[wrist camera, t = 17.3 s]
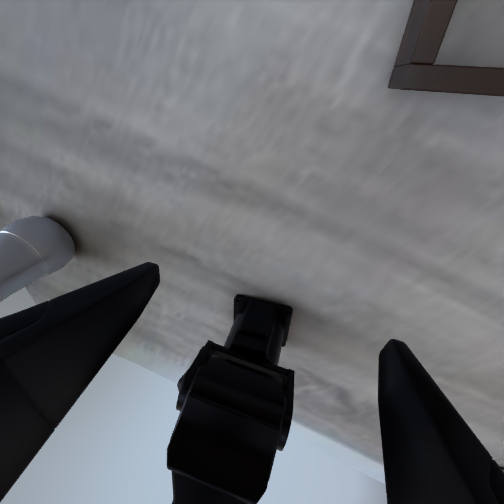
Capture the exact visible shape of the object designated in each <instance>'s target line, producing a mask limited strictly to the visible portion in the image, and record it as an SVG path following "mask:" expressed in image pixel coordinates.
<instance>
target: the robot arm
mask: <svg viewBox="0 0 504 504" xmlns="http://www.w3.org/2000/svg"><path fill="white" fill-rule="evenodd" d="M159 283H160V273H159V266H158V265H157V264H154V263H151V262H146V263H144V264H141V265H138V266H136V267H133V268H131V269H128V270H126V271H123V272H120V273H118V274H115V275H113V276H110V277H108V278H105V279H103V280H100V281H97V282H95V283H92V284H90V285H87V286H85V287H82V288H80V289H77V290H74V291H72V292H69V293H67V294H64V295H62V296H59V297H56V298H54V299H51V300H50V301H46V302H43V303H41V304H38V305H36V306H33V307H31V308H28V309H25V310H22V311H20V312H17V313H14V314H11V315H8V316H5V317H2V318H0V502H1V500H2V499H3V498H4V496H5V495H6V494H7V493H8V491H9V490H10V489H11V487H12V486H13V485H14V483H15V482H16V481H17V479H18V478H19V477H20V475H21V474H22V473H23V471H24V470H25V469H26V467H27V466H28V465H29V463H30V462H31V461H32V459H33V458H34V457H35V455H36V454H37V453H38V451H39V450H40V449H41V447H42V446H43V445H44V443H45V442H46V441H47V440H48V438H49V437H50V436H51V434H52V433H53V432H54V430H55V429H54V428H56V427H57V426H58V425H59V423H60V422H61V421H62V419H63V418H64V417H65V415H66V414H67V412H68V411H69V410H70V409H71V407H72V406H73V405H74V403H75V402H76V401H77V399H78V398H79V397H80V395H81V394H82V393H83V391H84V390H85V389H86V387H87V386H88V385H89V383H90V382H91V381H92V380H93V378H94V377H95V375H96V374H97V373H98V371H99V370H100V369H101V368H102V366H103V365H104V364H105V362H106V361H107V359H108V358H109V357H110V356H111V354H112V353H113V352H114V350H115V349H116V348H117V346H118V345H119V344H120V342H121V341H122V340H123V338H124V337H125V336H126V334H127V333H128V332H129V330H130V329H131V328H132V326H133V325H134V324H135V322H136V321H137V320H138V318H139V317H140V315H141V314H142V312H143V310H144V309H145V307H146V305H147V304H148V302H149V300H150V299H151V297H152V295H153V294H154V292H155V290H156V289H157V287H158V285H159ZM239 299H240V300H239ZM292 311H293V309H292V308H291V307H289V306H285V305H281V304H277V303H272V302H268V301H264V300H260V299H255V298H251V297H247V296H243V295H236V296H235V298H234V323H233V326H232V328H231V330H230V333H229V335H228V338H227V340H226V342H225V345H224V346H221V345H218V344H215V343H214V342H213V341H210V340H208V342H207V343H206V345H205V346H203V347H202V349H200V351H199V353H198V355H197V357H196V358H195V360H194V362H193V363H192V365H191V366H190V368H189V369H188V370H187V371H186V373H185V374H184V375H183V376H182V377H181V378H180V380H179V382H178V385H177V386H178V390H179V395H178V401H177V406H176V409H177V410H179V411H181V412H180V415H179V417H178V420H177V423H176V425H175V428H174V431H173V433H172V436H171V439H170V443H169V445H168V448H167V468H168V469H169V470H172V482H173V502H172V504H257V502H258V501H259V500H260V498H261V497H262V495H263V494H264V492H265V491H266V489H267V484H268V481H269V478H270V474H271V470H272V466H273V461H274V457H275V454H276V450H280V451H282V450H283V448H284V446H285V444H286V441H287V438H288V434H289V430H290V425H291V420H292V413H293V397H294V370H291V369H285V368H282V367H280V366H278V362H279V357H280V352H281V347H284V346H285V345H286V340H287V335H288V330H289V326H290V321H291V316H292ZM378 406H379V417H380V428H381V439H382V450H383V461H384V472H385V483H386V493H387V504H504V472H503V471H502V469H501V468H500V467H499V465H498V464H497V463H496V462H495V461H494V460H492V456H491V455H490V454H489V452H488V451H487V450H486V449H485V447H484V446H483V445H482V443H481V442H480V441H479V439H478V438H477V437H476V435H475V434H474V433H473V431H472V430H471V429H470V428H469V426H468V425H467V424H466V422H465V421H464V420H463V418H462V417H461V416H460V414H459V413H458V412H457V410H456V409H455V408H454V407H453V405H452V404H451V403H450V401H449V400H448V399H447V397H446V396H445V395H444V393H443V392H442V391H441V390H440V388H439V387H438V386H437V384H436V383H435V382H434V380H433V379H432V378H431V376H430V375H429V374H428V372H427V371H426V370H425V369H424V367H423V366H422V365H421V363H420V362H419V361H418V359H417V358H416V357H415V355H414V354H413V353H412V351H411V350H410V349H409V348H408V346H407V345H406V344H405V343H404V342H402V341H399V340H396V339H390V340H389V341H388V343H387V344H386V345H385V346H384V348H383V349H382V350H381V352H380V354H379V371H378Z"/></svg>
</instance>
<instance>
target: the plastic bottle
mask: <svg viewBox="0 0 504 504" xmlns="http://www.w3.org/2000/svg"><path fill="white" fill-rule="evenodd" d="M74 251H75V245H74V242H73V240H72V238H71V236H70V235H69V233H68V232H67V231H66V230H65V229H64V228H63V227H62V226H61V225H59V224H58V223H57V222H55V221H53V220H51V219H49V218H46V217H38V216H31V217H27V218H24V219H20V220H16V221H15V222H13V223H11V224H10V225H8V226H6V227H5V228H3V229H2V230H1V231H0V302H1V301H3V300H4V299H6V298H7V297H8V296H10V295H11V294H13V293H15V292H16V291H18V290H20V289H22V288H23V287H25V286H27V285H29V284H31V283H32V282H34V281H36V280H38V279H39V278H41V277H44V276H46V275H49V274H51V273H53V272H55V271H57V270H59V269H61V268H63V267H64V266H65V265H66V264H67V263H68V262H69V261H70V260H71V259H72V257H73V255H74Z"/></svg>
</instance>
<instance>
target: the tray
mask: <svg viewBox="0 0 504 504" xmlns="http://www.w3.org/2000/svg"><path fill="white" fill-rule="evenodd" d="M456 3H457V0H414V2H413V5H412V9H411V12H410V15H409V19H408V22H407V25H406V29H405V32H404V35H403V38H402V42H401V45H400V48H399V52H398V55H397V58H396V62H395V65H394V67H395V68H394V69H393V71H392V75H391V78H390V81H389V85H388V88H392V89H402V90H417V91H432V92H447V93H462V94H476V95H491V96H504V68H494V67H474V66H453V65H433V64H434V62H435V59H436V57H437V54H438V51H439V49H440V46H441V43H442V41H443V38H444V35H445V33H446V30H447V27H448V25H449V22H450V19H451V17H452V14H453V11H454V9H455V6H456Z"/></svg>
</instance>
